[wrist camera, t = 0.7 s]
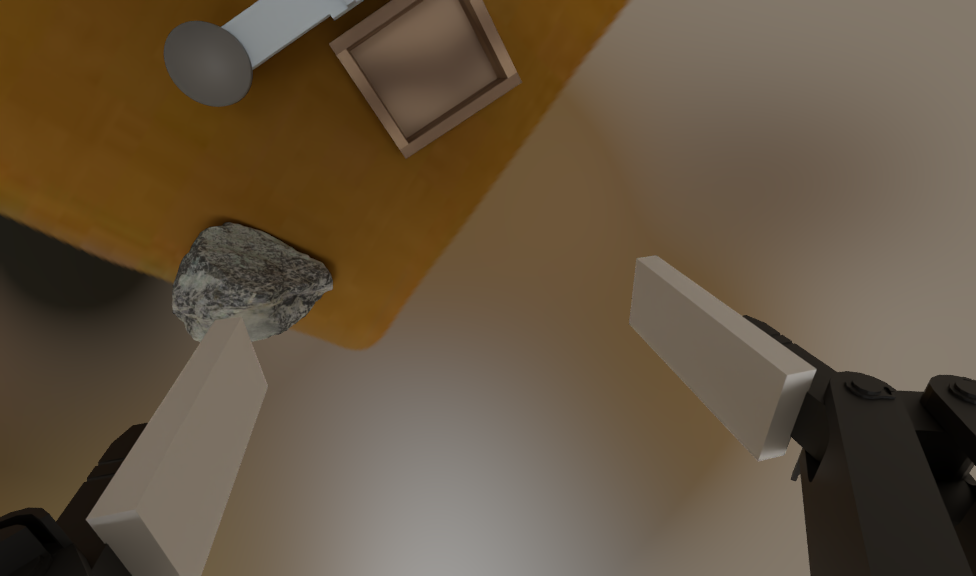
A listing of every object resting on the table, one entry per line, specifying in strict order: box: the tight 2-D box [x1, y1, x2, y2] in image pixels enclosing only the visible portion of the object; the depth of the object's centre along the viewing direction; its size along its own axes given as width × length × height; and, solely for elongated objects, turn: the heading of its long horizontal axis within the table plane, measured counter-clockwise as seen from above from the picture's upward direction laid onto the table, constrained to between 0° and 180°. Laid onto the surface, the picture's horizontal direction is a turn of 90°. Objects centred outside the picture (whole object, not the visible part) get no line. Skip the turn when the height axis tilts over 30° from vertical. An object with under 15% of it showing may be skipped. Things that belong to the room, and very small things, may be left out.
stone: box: [172, 222, 333, 342], centre depth 36 cm, size 10×10×10 cm
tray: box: [329, 0, 522, 158], centre depth 33 cm, size 9×11×4 cm
